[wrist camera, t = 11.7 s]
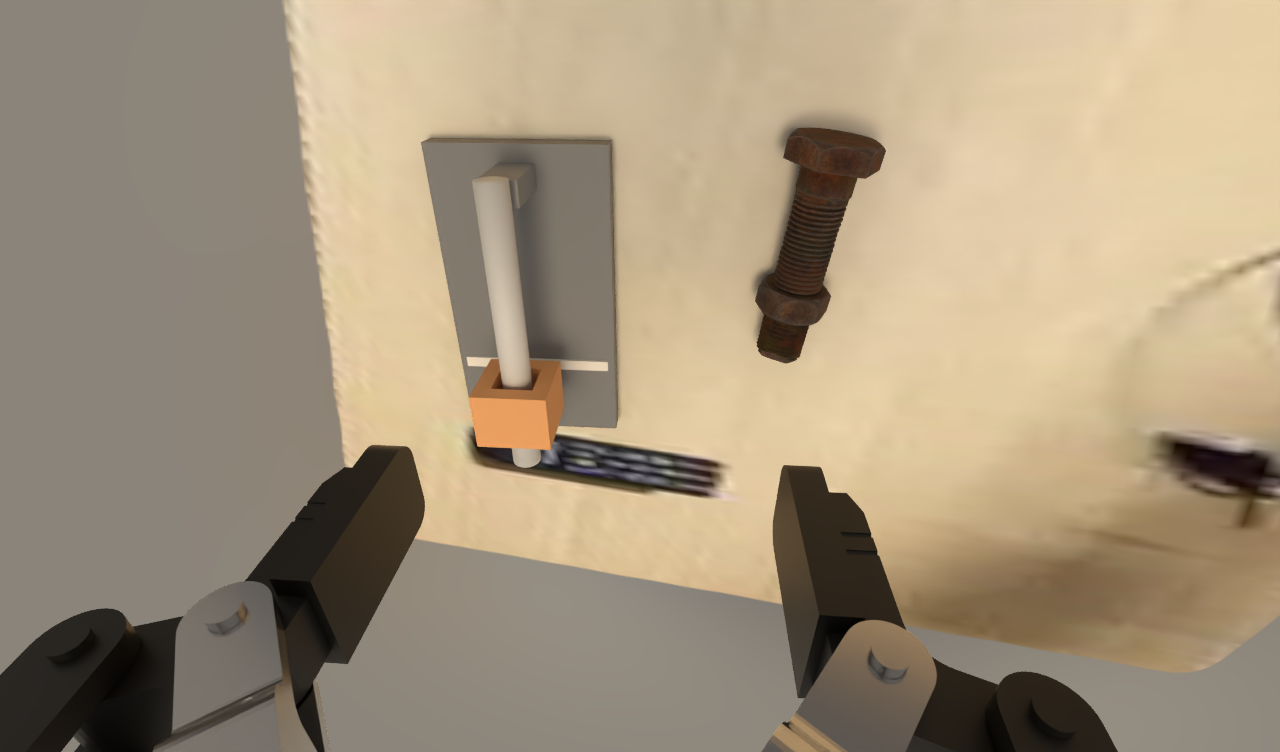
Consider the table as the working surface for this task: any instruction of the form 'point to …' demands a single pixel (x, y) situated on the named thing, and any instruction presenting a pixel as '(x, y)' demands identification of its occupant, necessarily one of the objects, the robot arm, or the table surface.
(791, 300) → the bolt
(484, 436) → the collar
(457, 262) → the pipe stand
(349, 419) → the table surface
